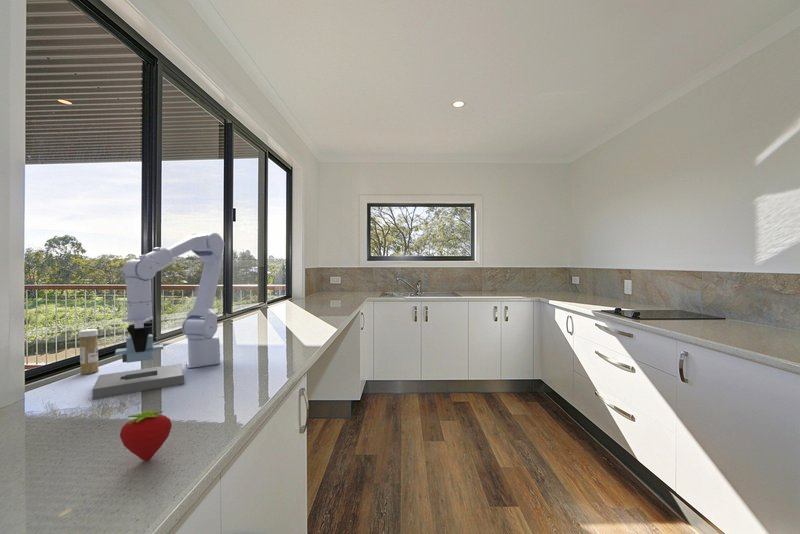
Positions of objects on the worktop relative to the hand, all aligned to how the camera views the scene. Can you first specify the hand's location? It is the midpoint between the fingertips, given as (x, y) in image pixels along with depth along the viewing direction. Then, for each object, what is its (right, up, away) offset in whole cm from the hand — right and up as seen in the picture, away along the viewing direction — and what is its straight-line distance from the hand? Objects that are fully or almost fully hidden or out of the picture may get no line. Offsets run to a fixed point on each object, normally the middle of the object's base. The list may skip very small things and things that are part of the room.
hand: (140, 350), depth 105 cm
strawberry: (+29, -10, -40) cm, 51 cm away
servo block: (0, -3, 0) cm, 3 cm away
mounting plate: (0, -10, 0) cm, 10 cm away
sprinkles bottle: (-24, -10, +12) cm, 29 cm away
